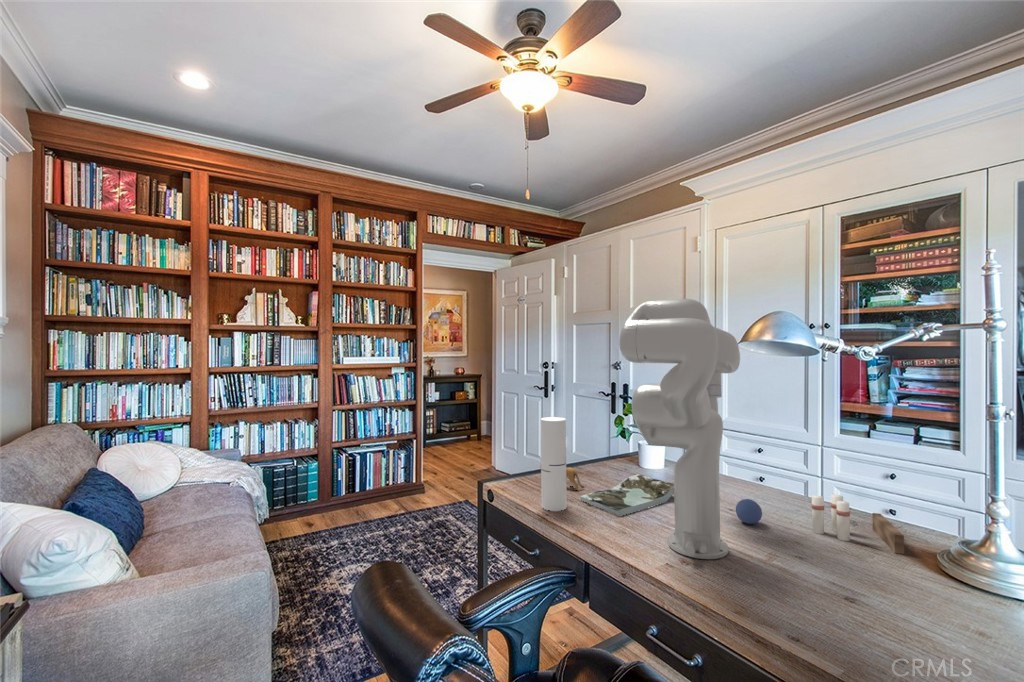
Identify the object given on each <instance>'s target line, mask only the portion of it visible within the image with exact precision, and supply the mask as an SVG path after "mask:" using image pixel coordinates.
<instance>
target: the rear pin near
mask: <svg viewBox="0 0 1024 682" xmlns="http://www.w3.org/2000/svg"><path fill="white" fill-rule="evenodd" d="M836 514H837V532H836V535H837V536H836V538H837V539H838V540H839V541H844V542H850V541H851V526H850V525H851V524H850V523H851V521H850V518H851V511H850V503H849V502H847V501H844V500H843V501H837V509H836Z"/></svg>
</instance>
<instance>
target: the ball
mask: <svg viewBox="0 0 1024 682" xmlns="http://www.w3.org/2000/svg"><path fill="white" fill-rule="evenodd" d="M735 513H736V516H737V517H738V519H739V520H740V521H742V523H745V524H747V525H754V524H757V523H759V522H760V520H761V519H762V517H763V511H762V507H761V506H760V505H759V503H758V502H756V501H755V500H753V499H749V498H744V499H741V500H739V501H738V502H737V504H736V506H735Z"/></svg>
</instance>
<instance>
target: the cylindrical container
mask: <svg viewBox="0 0 1024 682" xmlns="http://www.w3.org/2000/svg"><path fill="white" fill-rule="evenodd" d="M566 422H567V418H565V417H559V416H558V417H557V416H548V417H547V416H546V417H541V418H540V466H541V468H540V474H541V475H540V476H541V477H540V478H541V479H540V482H541V485H540V486H541V488H540V489H541V492H540V493H541V509H543V508H544V509H543V510H545V509H546V510H545V511H548V510H550V511H549V512H562V511H564V509H565V510H566V509H567V508H568V507H567V499H568V498H567V478H566V468H567V423H566ZM561 510H562V511H561Z"/></svg>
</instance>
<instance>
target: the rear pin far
mask: <svg viewBox="0 0 1024 682" xmlns="http://www.w3.org/2000/svg"><path fill="white" fill-rule="evenodd" d="M837 501H844V496H843V495H841V494H833V493H832V494H831V495H830V509H831V510H830V512H831V513H830V515H831V531H832V532H834V533H837V514H836V509H837Z"/></svg>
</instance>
